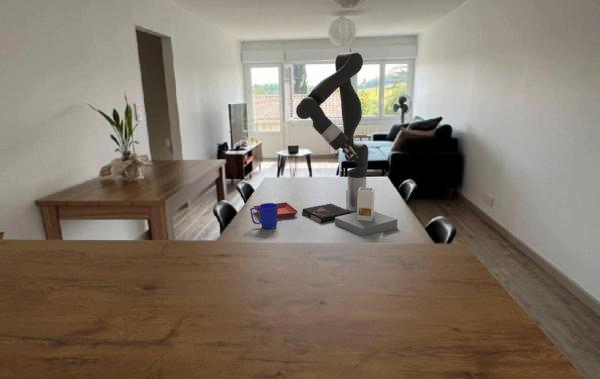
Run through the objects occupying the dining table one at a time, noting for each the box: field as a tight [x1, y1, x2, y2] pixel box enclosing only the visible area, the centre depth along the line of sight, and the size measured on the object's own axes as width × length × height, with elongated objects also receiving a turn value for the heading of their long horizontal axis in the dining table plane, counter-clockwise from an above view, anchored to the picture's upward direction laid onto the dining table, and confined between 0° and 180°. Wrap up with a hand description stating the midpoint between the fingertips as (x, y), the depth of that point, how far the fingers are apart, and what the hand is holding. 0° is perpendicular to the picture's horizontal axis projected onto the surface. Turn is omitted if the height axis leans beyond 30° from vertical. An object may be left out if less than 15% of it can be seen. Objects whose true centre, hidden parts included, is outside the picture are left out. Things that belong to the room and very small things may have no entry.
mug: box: [249, 202, 278, 230], centre depth 165 cm, size 8×12×10 cm
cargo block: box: [360, 208, 371, 216], centre depth 162 cm, size 4×4×4 cm
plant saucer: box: [252, 202, 299, 220], centre depth 184 cm, size 18×18×3 cm
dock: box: [334, 210, 398, 237], centre depth 163 cm, size 18×20×4 cm
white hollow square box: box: [357, 186, 375, 221], centre depth 161 cm, size 6×6×13 cm
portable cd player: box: [301, 203, 352, 224], centre depth 177 cm, size 16×17×4 cm
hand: (361, 164), depth 157 cm, fingers open, 8 cm apart
